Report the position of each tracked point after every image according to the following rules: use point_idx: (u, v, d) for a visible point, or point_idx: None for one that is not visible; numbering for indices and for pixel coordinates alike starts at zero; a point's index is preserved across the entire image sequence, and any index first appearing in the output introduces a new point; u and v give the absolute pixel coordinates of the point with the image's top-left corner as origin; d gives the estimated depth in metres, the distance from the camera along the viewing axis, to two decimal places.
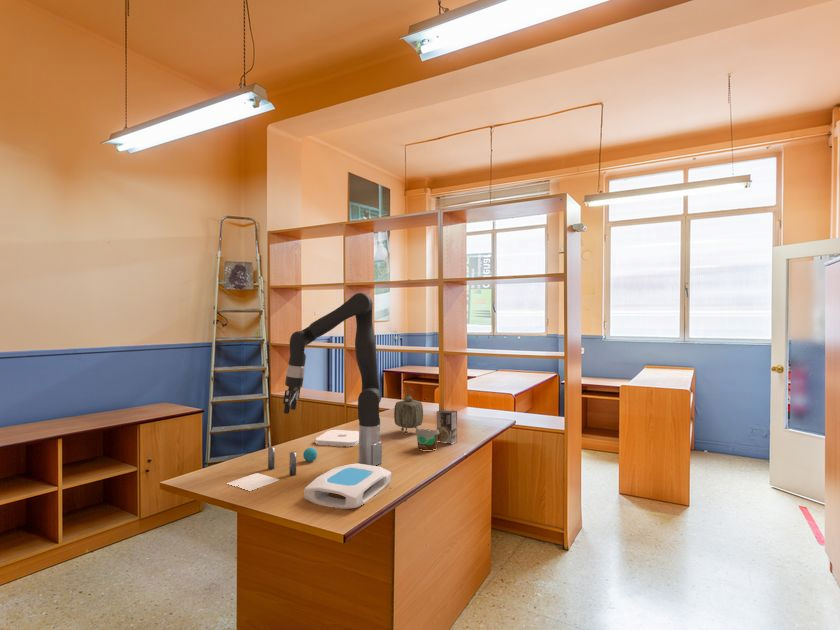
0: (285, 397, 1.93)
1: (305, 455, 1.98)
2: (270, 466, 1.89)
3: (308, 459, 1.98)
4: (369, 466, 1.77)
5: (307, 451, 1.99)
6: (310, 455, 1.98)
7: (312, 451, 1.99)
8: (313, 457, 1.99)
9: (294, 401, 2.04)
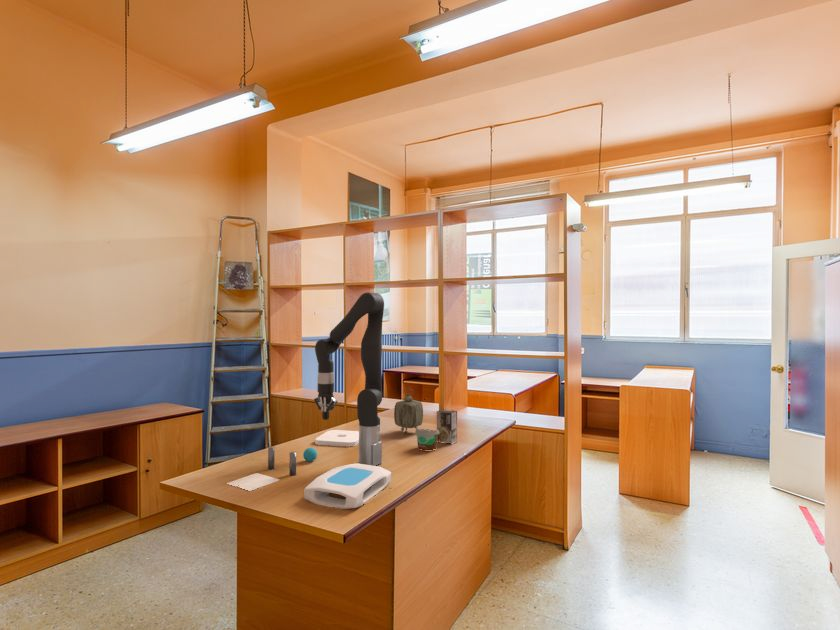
0: (332, 406, 2.06)
1: (305, 455, 1.98)
2: (270, 466, 1.89)
3: (308, 459, 1.98)
4: (369, 466, 1.77)
5: (307, 451, 1.99)
6: (310, 455, 1.98)
7: (312, 451, 1.99)
8: (313, 457, 1.99)
9: None
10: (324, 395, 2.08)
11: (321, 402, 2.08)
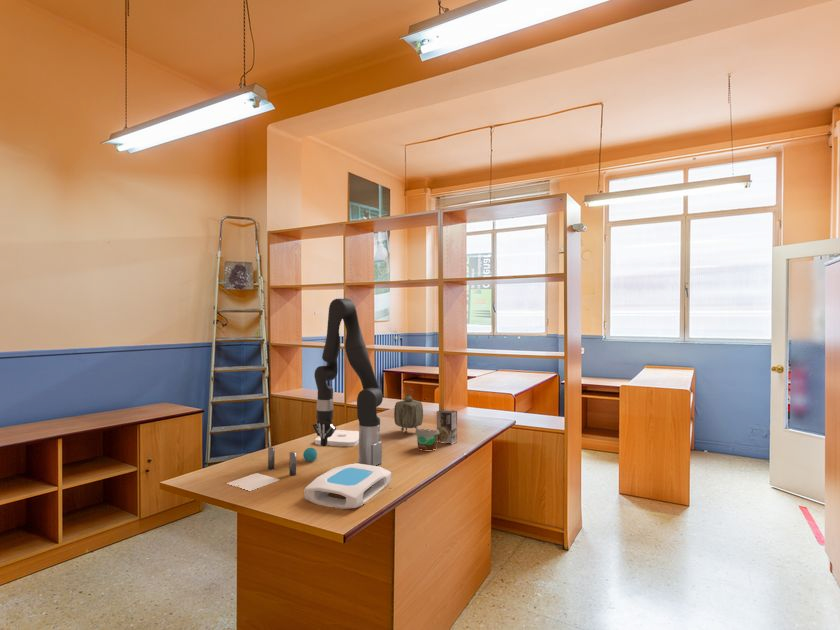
0: (330, 433, 2.06)
1: (305, 455, 1.98)
2: (270, 466, 1.89)
3: (308, 459, 1.98)
4: (369, 466, 1.77)
5: (307, 451, 1.99)
6: (310, 455, 1.98)
7: (312, 451, 1.99)
8: (313, 457, 1.99)
9: None
10: (323, 422, 2.07)
11: (320, 429, 2.08)
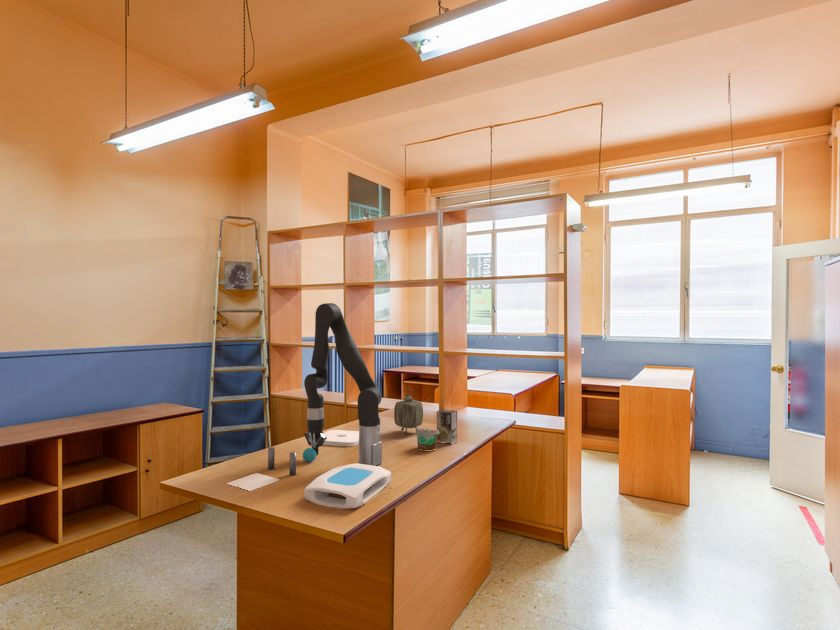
0: (321, 443, 2.01)
1: (304, 455, 1.98)
2: (270, 466, 1.89)
3: (307, 459, 1.98)
4: (369, 466, 1.77)
5: (306, 451, 1.98)
6: (309, 455, 1.97)
7: (311, 451, 1.99)
8: (312, 457, 1.98)
9: None
10: (313, 431, 2.03)
11: (310, 438, 2.03)
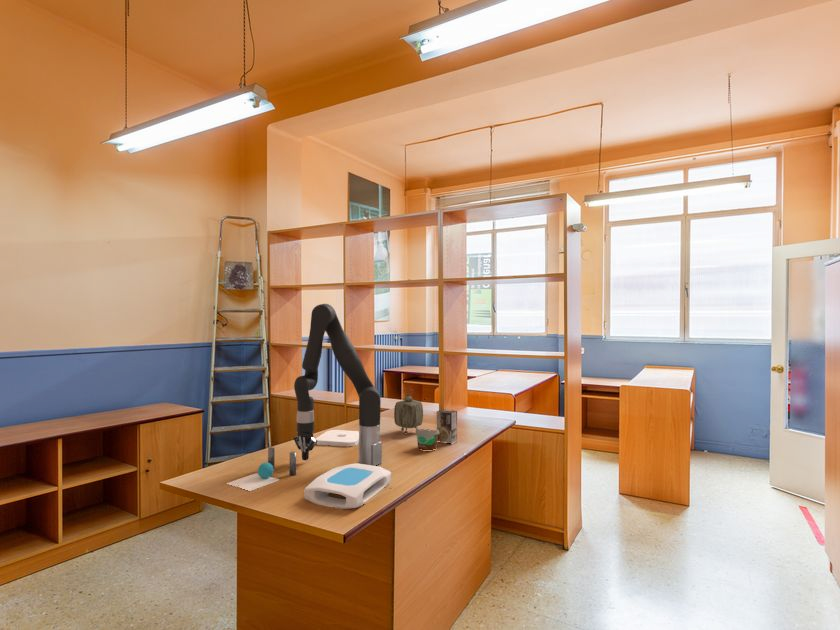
0: (311, 446, 1.95)
1: None
2: None
3: (269, 476, 1.80)
4: (369, 466, 1.77)
5: (261, 476, 1.78)
6: (267, 476, 1.78)
7: (264, 473, 1.77)
8: (271, 473, 1.79)
9: None
10: (303, 434, 1.97)
11: (300, 442, 1.97)
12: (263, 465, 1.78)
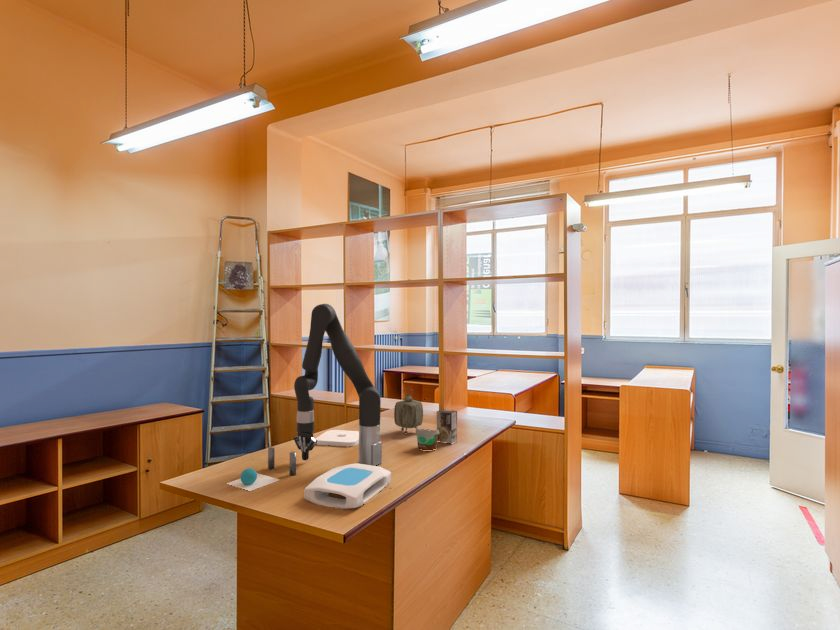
0: (311, 446, 1.95)
1: None
2: (270, 466, 1.89)
3: (251, 470, 1.72)
4: (369, 466, 1.77)
5: None
6: (255, 472, 1.73)
7: (256, 477, 1.74)
8: (253, 475, 1.71)
9: None
10: (303, 434, 1.97)
11: (300, 442, 1.97)
12: None
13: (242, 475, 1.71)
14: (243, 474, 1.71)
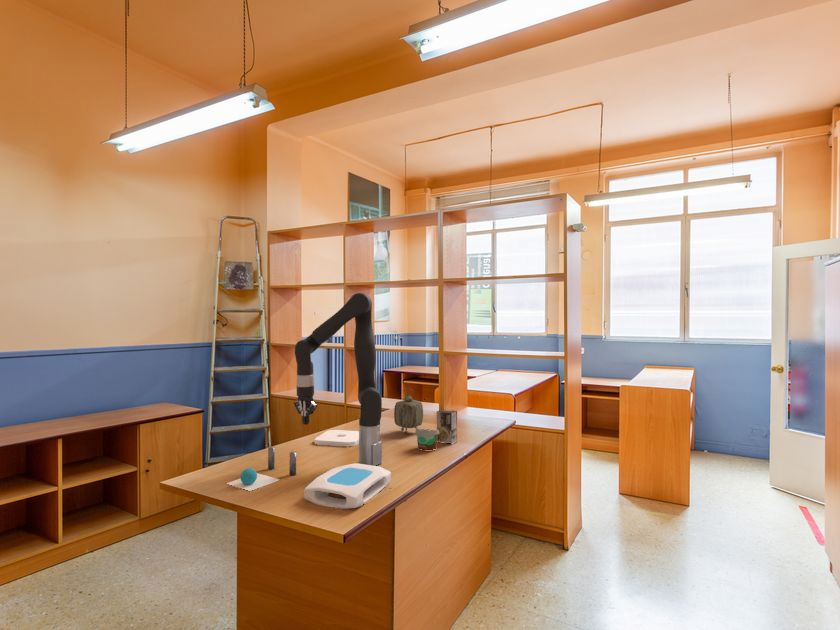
0: (312, 410, 1.95)
1: None
2: (270, 466, 1.89)
3: (251, 470, 1.72)
4: (369, 466, 1.77)
5: None
6: (255, 472, 1.73)
7: (256, 477, 1.74)
8: (253, 475, 1.71)
9: None
10: (304, 399, 1.97)
11: (301, 406, 1.98)
12: None
13: (242, 475, 1.71)
14: (243, 474, 1.71)
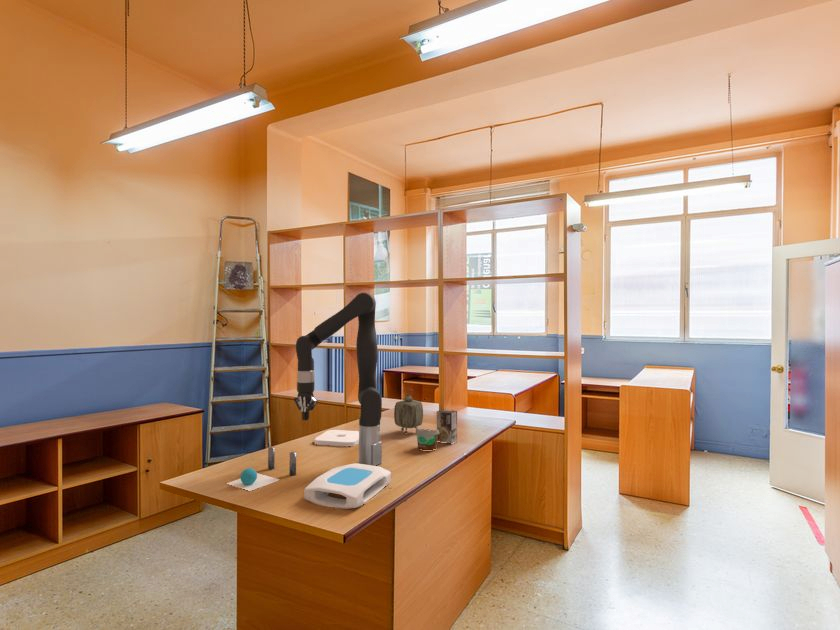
0: (312, 406, 1.95)
1: None
2: (270, 466, 1.89)
3: (251, 470, 1.72)
4: (369, 466, 1.77)
5: None
6: (255, 472, 1.73)
7: (256, 477, 1.74)
8: (253, 475, 1.71)
9: None
10: (304, 394, 1.97)
11: (301, 402, 1.97)
12: None
13: (242, 475, 1.71)
14: (243, 474, 1.71)
